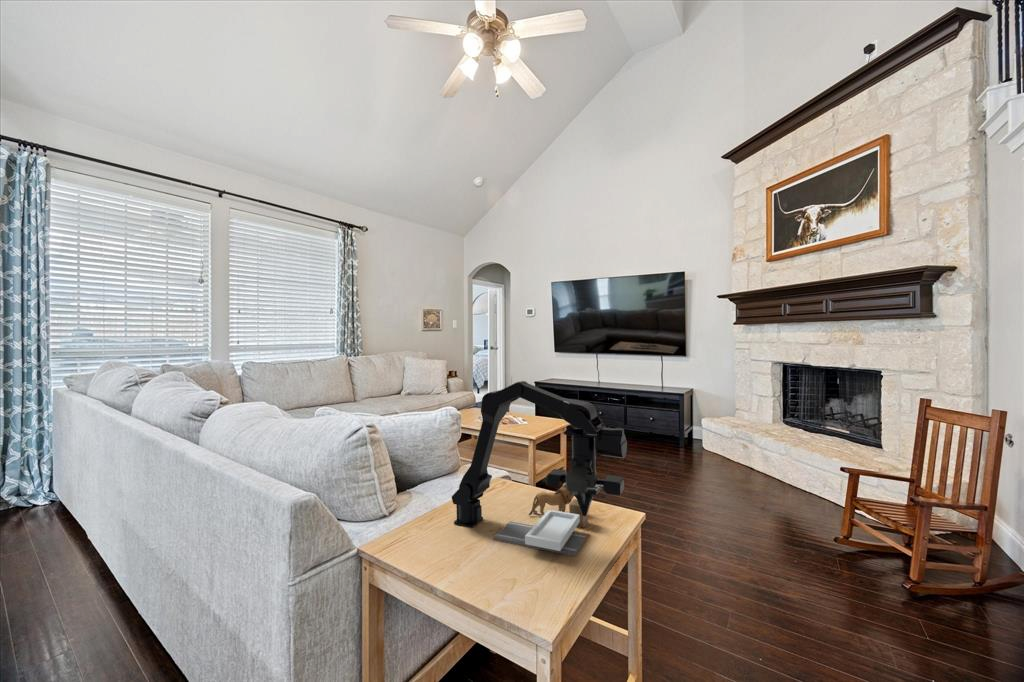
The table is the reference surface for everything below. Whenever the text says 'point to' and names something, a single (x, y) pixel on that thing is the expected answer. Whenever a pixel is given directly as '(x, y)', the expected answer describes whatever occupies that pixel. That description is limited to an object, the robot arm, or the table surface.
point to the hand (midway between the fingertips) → (585, 515)
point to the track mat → (517, 536)
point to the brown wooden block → (577, 512)
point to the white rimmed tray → (552, 530)
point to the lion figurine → (553, 499)
